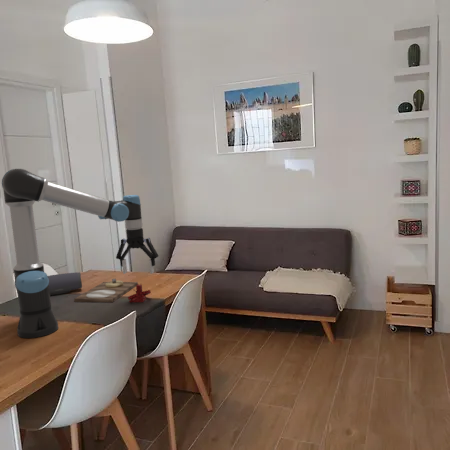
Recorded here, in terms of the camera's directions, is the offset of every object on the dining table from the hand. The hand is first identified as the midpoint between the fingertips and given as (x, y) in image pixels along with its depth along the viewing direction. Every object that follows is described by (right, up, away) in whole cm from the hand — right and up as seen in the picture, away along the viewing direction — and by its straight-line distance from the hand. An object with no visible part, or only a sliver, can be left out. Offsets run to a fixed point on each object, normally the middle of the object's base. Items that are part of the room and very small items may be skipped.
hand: (138, 273), depth 211 cm
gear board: (-19, -12, +18) cm, 29 cm away
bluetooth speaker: (-46, -13, +23) cm, 53 cm away
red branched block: (0, -14, +3) cm, 14 cm away
